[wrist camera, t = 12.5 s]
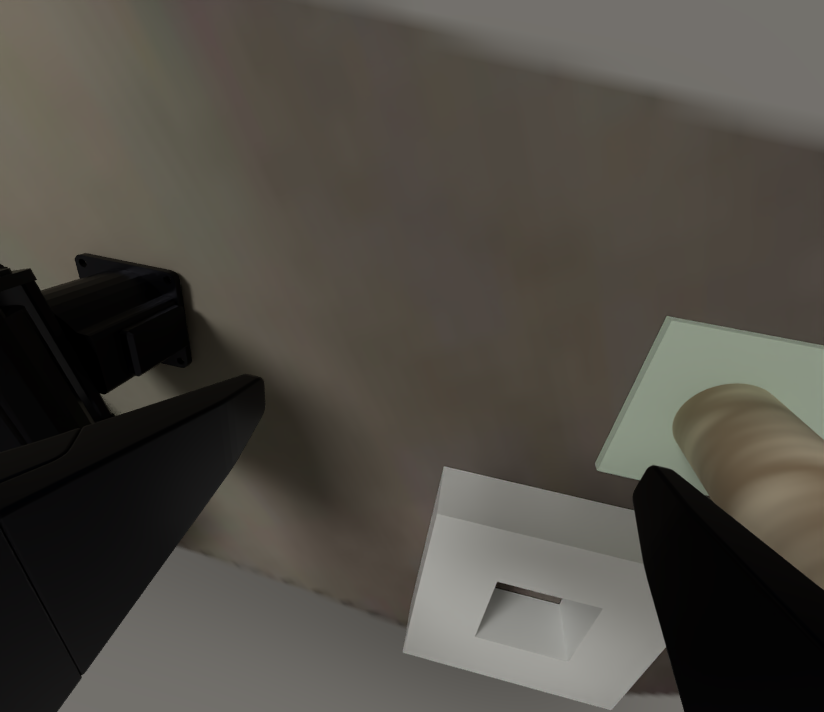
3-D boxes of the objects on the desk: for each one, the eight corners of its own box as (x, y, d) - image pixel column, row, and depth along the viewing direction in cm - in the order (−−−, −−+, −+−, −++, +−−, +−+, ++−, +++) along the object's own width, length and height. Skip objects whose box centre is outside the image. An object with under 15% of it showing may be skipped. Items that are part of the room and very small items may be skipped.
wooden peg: (677, 466, 23) (855, 778, 11) (666, 395, 21) (865, 681, 10) (783, 452, 21) (1116, 801, 10) (781, 373, 19) (1187, 688, 8)
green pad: (594, 463, 24) (597, 470, 24) (666, 316, 20) (671, 320, 19) (764, 501, 23) (770, 509, 23) (882, 356, 19) (894, 362, 18)
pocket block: (411, 601, 34) (402, 652, 31) (444, 466, 27) (436, 513, 23) (598, 650, 33) (611, 710, 29) (688, 523, 25) (721, 582, 22)
